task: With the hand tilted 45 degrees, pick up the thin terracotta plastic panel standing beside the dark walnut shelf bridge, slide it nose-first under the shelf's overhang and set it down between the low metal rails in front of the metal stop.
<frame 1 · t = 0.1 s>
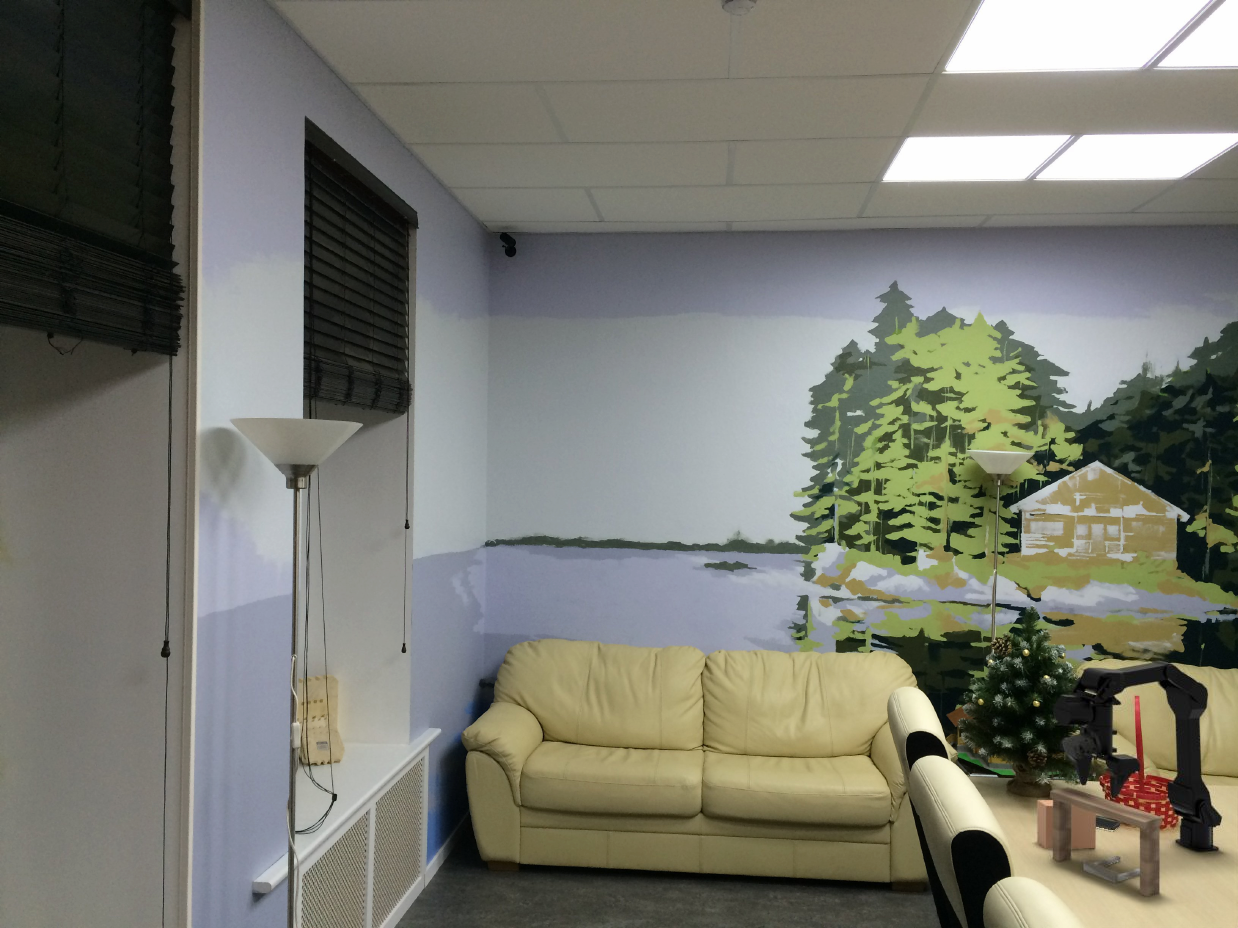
hand: (1098, 791, 207), 15 cm above the table, tool pointing down, fingers open, 9 cm apart
phone: (1085, 822, 229), on the table
terracotta panel: (1066, 845, 212), on the table
walnut bridge: (1119, 869, 198), on the table
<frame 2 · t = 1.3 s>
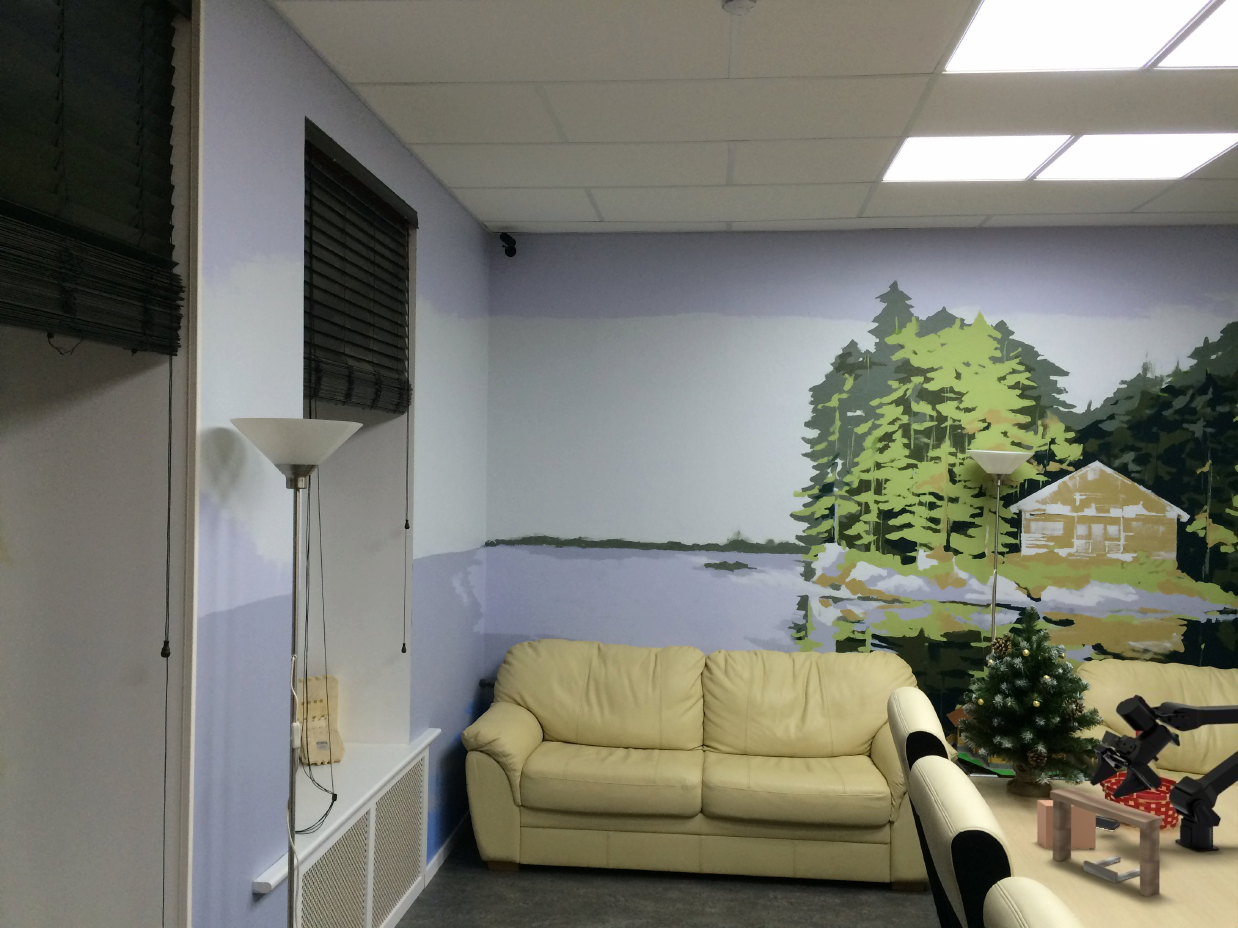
hand: (1102, 790, 212), 13 cm above the table, tool tilted 45°, fingers open, 9 cm apart
nothing on the table moved.
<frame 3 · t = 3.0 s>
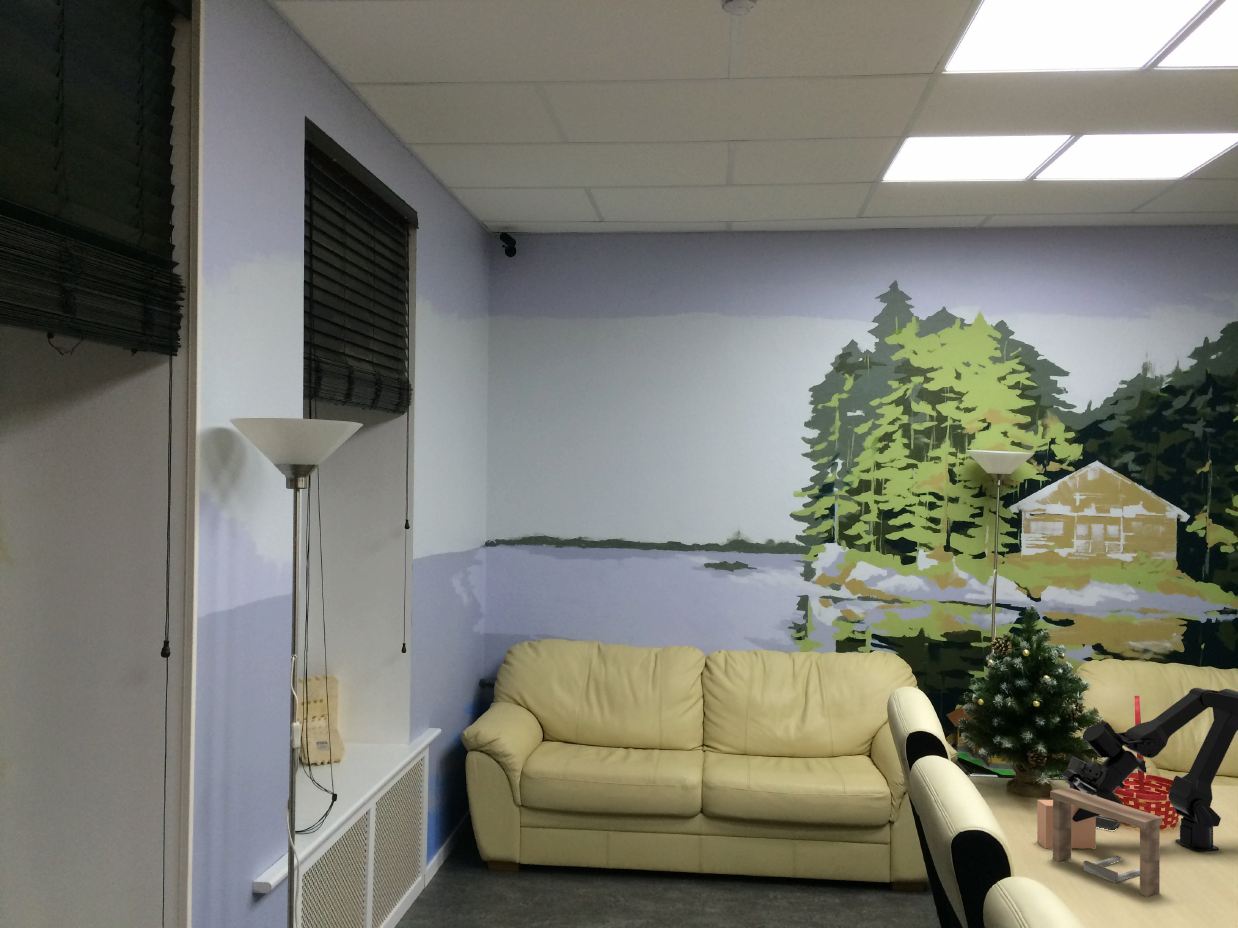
hand: (1068, 816, 212), 7 cm above the table, tool tilted 45°, fingers closed on terracotta panel, 4 cm apart
terracotta panel: (1066, 845, 212), on the table, touching gripper
everything else where it was.
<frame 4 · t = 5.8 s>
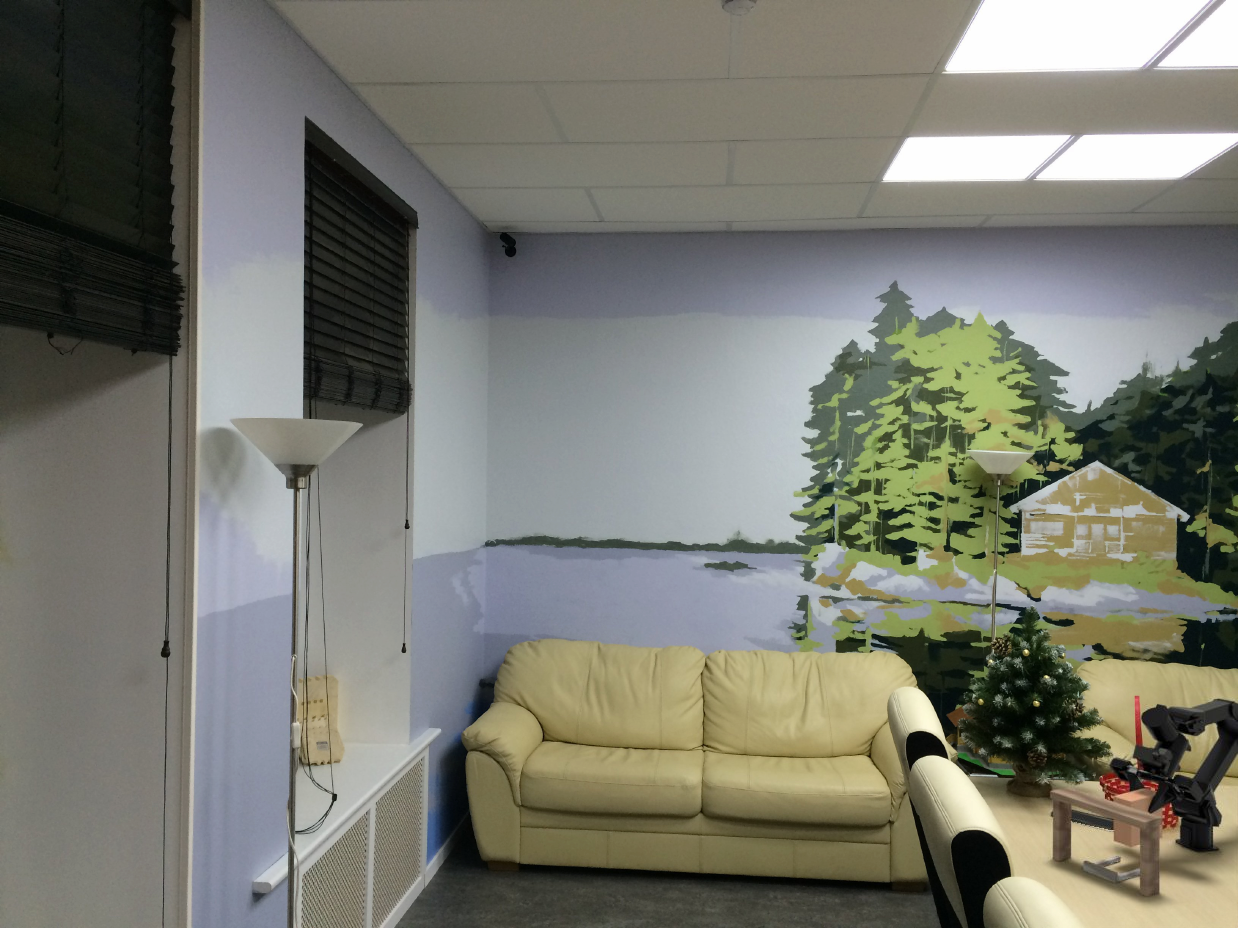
hand: (1139, 809, 202), 12 cm above the table, tool tilted 45°, fingers closed on terracotta panel, 4 cm apart
terracotta panel: (1138, 838, 201), point 6 cm above the table, touching gripper
everything else where it was.
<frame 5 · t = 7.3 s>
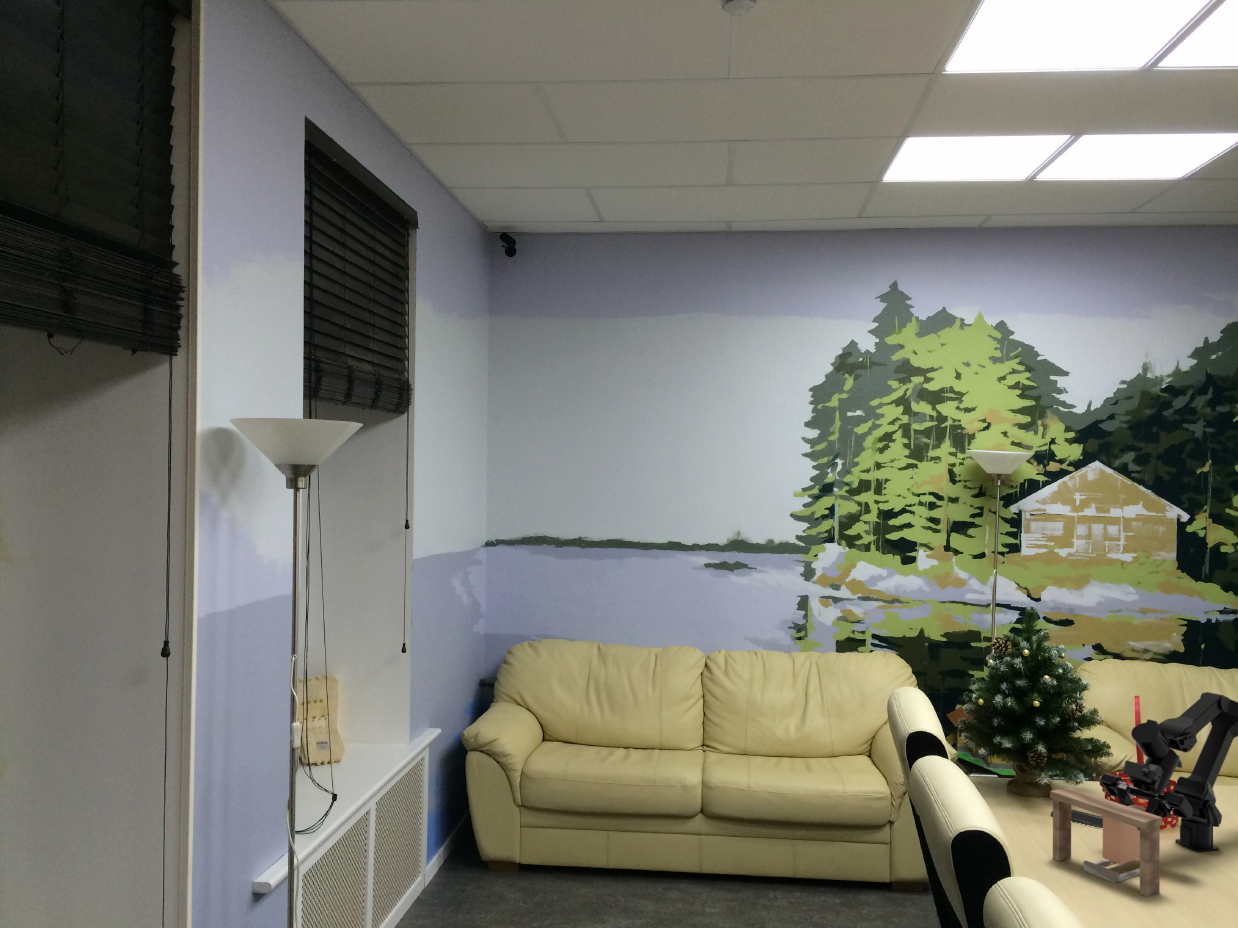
hand: (1129, 825, 200), 9 cm above the table, tool tilted 45°, fingers closed on terracotta panel, 4 cm apart
terracotta panel: (1127, 855, 199), point 3 cm above the table, touching gripper
everything else where it was.
when the fingers open (8 cm above the table, at t = 8.7 s): terracotta panel drops 1 cm, resting in walnut bridge.
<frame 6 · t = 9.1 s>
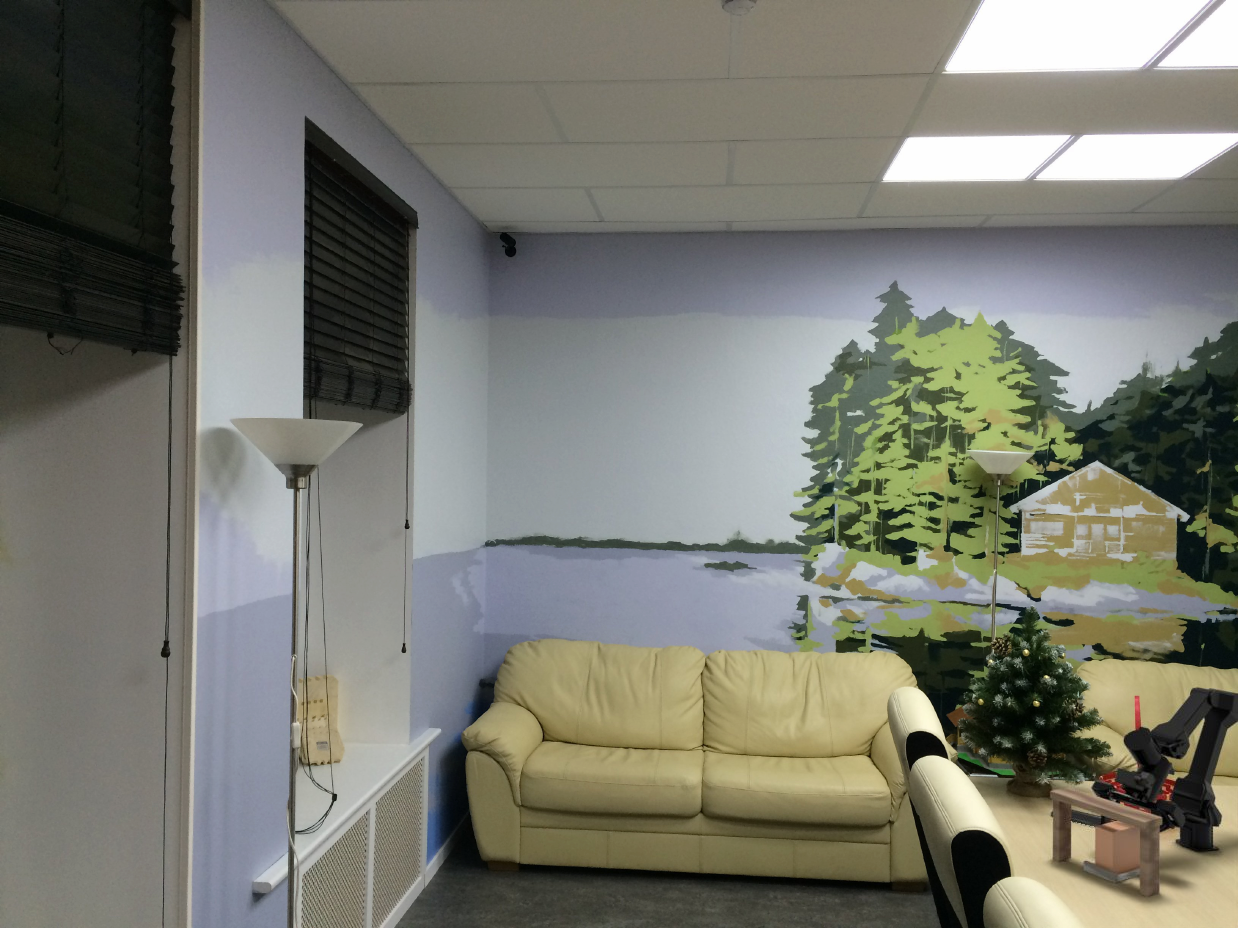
hand: (1121, 833, 198), 8 cm above the table, tool tilted 45°, fingers open, 9 cm apart
terracotta panel: (1120, 870, 198), resting in walnut bridge
everything else where it was.
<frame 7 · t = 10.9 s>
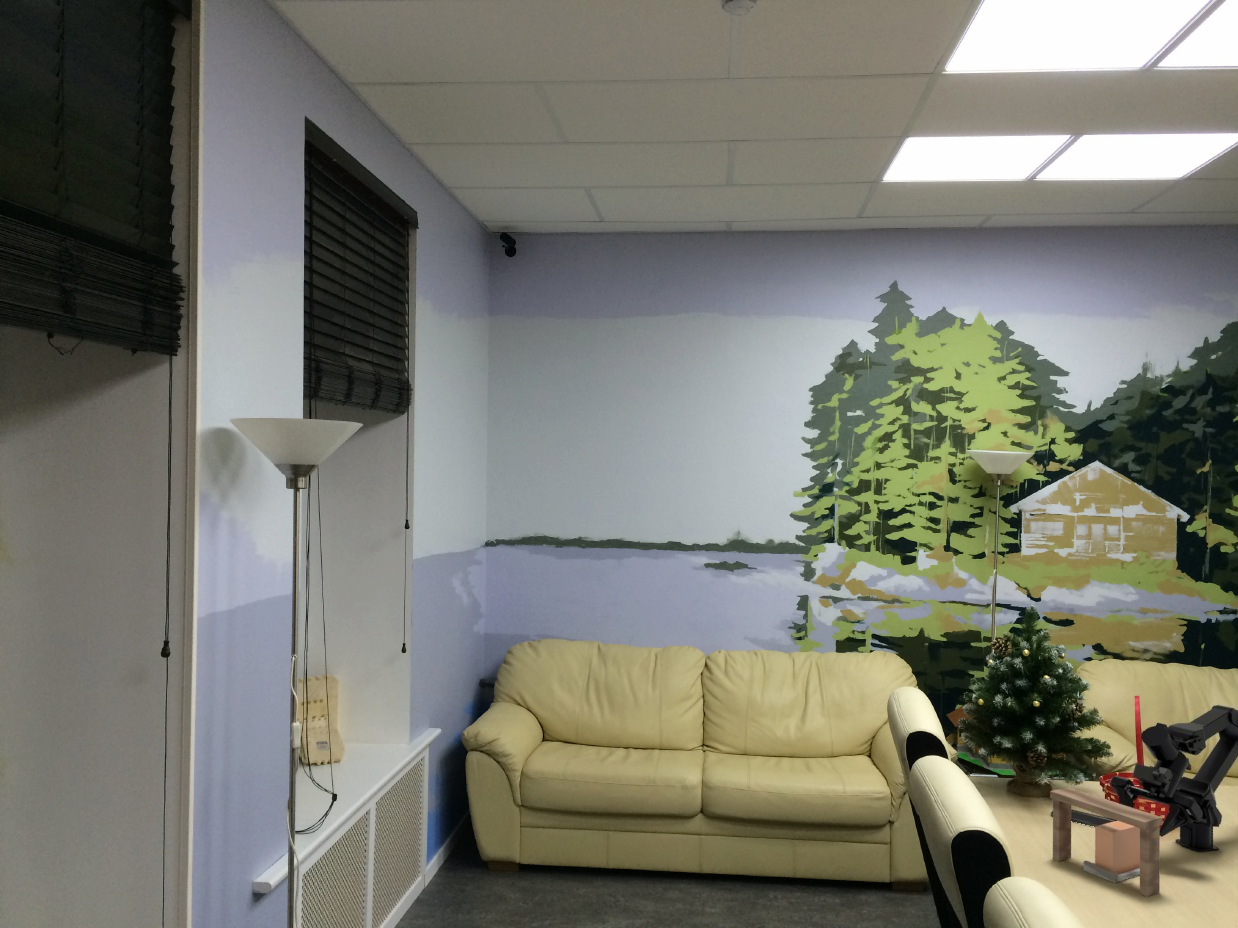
hand: (1139, 828, 202), 8 cm above the table, tool tilted 45°, fingers open, 9 cm apart
nothing on the table moved.
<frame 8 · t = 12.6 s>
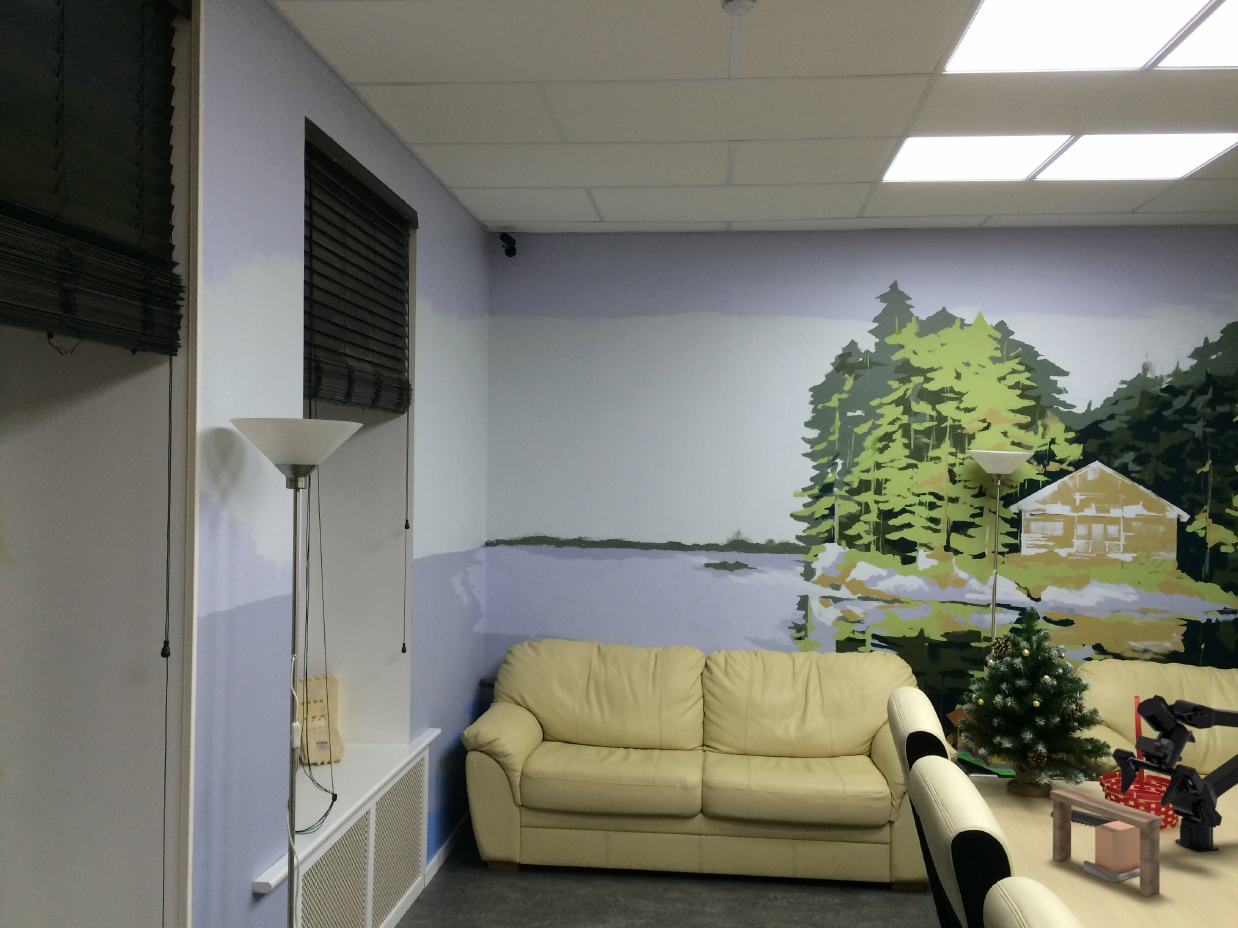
hand: (1141, 798, 205), 14 cm above the table, tool tilted 45°, fingers open, 9 cm apart
nothing on the table moved.
at the end: terracotta panel 0.2 cm off-centre on the walnut bridge, point 0.0 cm above the walnut bridge's base; terracotta panel tilted 0°; the gripper is holding nothing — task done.
